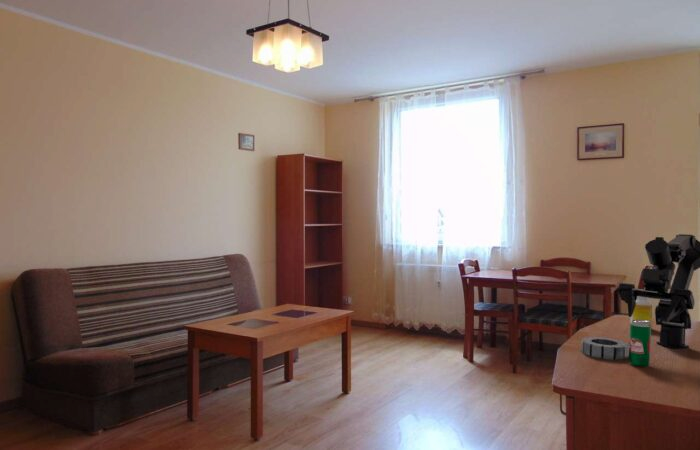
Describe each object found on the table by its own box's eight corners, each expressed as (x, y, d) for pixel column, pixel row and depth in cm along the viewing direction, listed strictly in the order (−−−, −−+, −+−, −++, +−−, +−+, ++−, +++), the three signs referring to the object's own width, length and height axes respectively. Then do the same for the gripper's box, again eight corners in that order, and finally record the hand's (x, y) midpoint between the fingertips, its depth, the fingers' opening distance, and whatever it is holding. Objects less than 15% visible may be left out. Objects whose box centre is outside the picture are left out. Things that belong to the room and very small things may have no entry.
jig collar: (606, 347, 160) (606, 336, 160) (636, 358, 149) (637, 346, 149) (572, 349, 157) (573, 338, 157) (601, 360, 146) (601, 348, 146)
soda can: (624, 363, 144) (625, 320, 143) (636, 361, 146) (638, 318, 145) (641, 368, 139) (642, 324, 139) (654, 366, 141) (655, 322, 141)
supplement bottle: (654, 330, 185) (655, 294, 184) (633, 329, 186) (634, 293, 185) (647, 326, 191) (648, 291, 191) (627, 325, 192) (628, 290, 192)
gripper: (620, 255, 156) (605, 296, 149) (693, 260, 142) (680, 305, 135) (629, 280, 162) (614, 320, 154) (699, 287, 148) (687, 331, 141)
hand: (647, 318), depth 146 cm, fingers open, 9 cm apart
